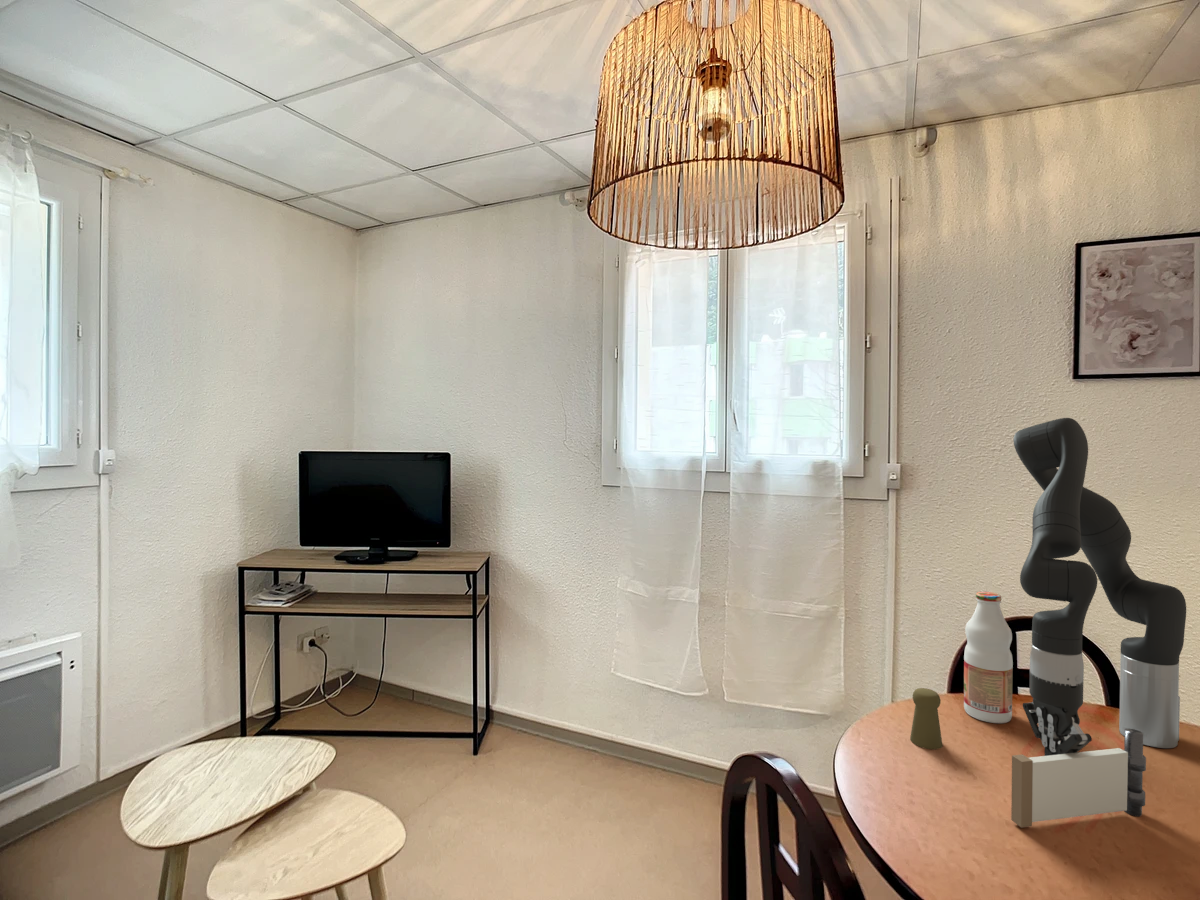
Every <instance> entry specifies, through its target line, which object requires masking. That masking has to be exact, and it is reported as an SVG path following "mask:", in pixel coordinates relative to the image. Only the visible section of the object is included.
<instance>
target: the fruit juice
mask: <svg viewBox="0 0 1200 900" xmlns="http://www.w3.org/2000/svg"><path fill="white" fill-rule="evenodd" d="M975 599H976V601H977V603H976V607H975V609H974V612H973V614H972V616H971V617H970V619H969V620H968V621H967V622H966V624H965V627H964V628H965V629H964V632H965V636H966V637H965V638H966V641H967V642H966V645H965V647H964V655H963V660H964V661H963V708H964V711H965V713H967V714H968V716H970V717H972V718H974V719H977V720H979V721H982V722H986V723H993V724H1006V723H1009V722H1010V721H1011V720H1012V717H1013V668H1014V667H1013V665H1014V662H1013V654H1012V651H1011V650H1010V647H1011V644H1012V641H1013V633H1012V628H1010V627H1009V624H1008V623H1007V621H1006V619H1005V617H1004V615H1003V611H1002V608H1001V603H1002V596H1001V594H999V593H996V592H991V591H978V592H976V594H975Z"/></svg>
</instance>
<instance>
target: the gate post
mask: <svg viewBox="0 0 1200 900" xmlns="http://www.w3.org/2000/svg"><path fill="white" fill-rule="evenodd" d="M1123 750H1124V751H1126V752H1128V779H1127V810H1126V811H1124V812H1125V814H1127V815H1129V816H1131V817H1132V816H1133V817H1138V818H1140V817H1142V816H1143V807H1144V806H1146V791H1145V790H1144V789H1143V772H1146V771H1147V768H1146V767H1147V757H1146V756H1145V754H1144V744H1143V733H1142V732H1140V731H1138V730H1135V729H1125V736H1124V748H1123Z"/></svg>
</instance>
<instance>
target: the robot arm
mask: <svg viewBox="0 0 1200 900" xmlns="http://www.w3.org/2000/svg"><path fill="white" fill-rule="evenodd" d="M1013 446H1014V449H1015V452H1016V455H1017V456H1018V458H1019V460H1020V461H1021V463H1022V464H1023V466H1024V467H1025V469H1026V470H1027V471H1028V472H1029V474H1030V475H1031V476H1032V477H1033V479H1034V480H1035V482H1036V483H1037V484H1038V485H1039V486H1040V488H1041V489H1042V490H1043V492H1042V493H1041V495H1040V496H1039V498H1038V500H1037V501H1036V503H1035V505H1034V509H1033V512H1032V539H1031V545H1030V546H1031V547H1030V549H1029V552H1028V554H1027V557H1026V558H1025V561H1024V563H1023V565H1022V568H1021V571H1020V575H1019V582H1020V586H1021V588H1022V589H1023V591H1024V592H1025V593H1026V594H1027V596H1028V595H1029V596H1030V597H1031V598H1036V599H1042V600H1051V601H1060V602H1067V603H1068V604H1067V605H1066V606H1065V607H1064V608H1061V609H1054V610H1053V609H1052V610H1041V611H1037V612H1035V613H1034V614H1033V616H1032V622H1031V623H1032V624H1031V625H1032V626H1031V648H1030V649H1031V650H1030V655H1029V695H1030V696H1031V697H1032V702H1023V703H1022V707H1023V710H1024V714H1025V715H1026V717H1027V719H1028V722H1029V725H1030V727H1031V729H1032V732H1033V734H1034V736H1035V737H1036V738H1037V739H1040V741H1041V743H1042V746H1043V747H1044V755H1043V756H1049V755H1058V754H1068V753H1077V752H1081V750H1082V749H1084V748H1085V747H1086V746H1087V745H1089V743H1090V742H1092V740H1093V738H1092V736H1091V735H1090V733H1084V731H1083V730H1082V729H1081V726H1080V723H1081V720H1080V717H1079V712H1078V711H1079V709H1080V708H1081V707H1082V706H1083V704H1084V679H1085V677H1084V675H1085V674H1084V673H1085V672H1084V671H1085V670H1084V669H1085V668H1084V665H1085V664H1084V659H1083V635H1084V634H1083V633H1084V632H1083V630H1084V624H1085V619H1086V616H1087V612H1088V610H1089V607H1090V606H1091V603H1092V601H1093V599H1094V596H1095V593H1096V591H1097V587H1098V580H1099V582H1100V584H1101V586H1102V590H1103V591H1104V593H1105V595H1106V598H1107V600H1108V602H1109V603H1110V606H1111V607H1112V609H1113V610H1114V612H1116V614H1117V615H1118V616H1120V617H1121V618H1123V619H1125V620H1127V621H1130V622H1134V623H1137V624H1140V625H1145V633H1144V636H1132V637H1131V636H1130V637H1125V638H1122V639H1121V642H1120V658H1119V661H1120V662H1119V663H1120V664H1119V665H1120V669H1119V670H1120V671H1119V672H1120V673H1119V675H1120V676H1119V677H1120V678H1119V679H1120V680H1119V717H1118V718H1119V720H1118V721H1119V725H1118V726H1119V727H1118V728H1119V733H1120V734H1121V735H1122V736H1123V737H1125V729H1135V730H1138V731H1140V732H1142V733H1143V746H1144V745H1145V746H1148V747H1149V746H1150V747H1152V748H1159V749H1173V748H1176V747H1177V746H1178V741H1180V714H1181V713H1180V711H1181V709H1180V707H1181V705H1180V704H1181V702H1180V701H1181V698H1180V695H1179V693H1180V691H1179V685H1180V684H1179V682H1180V681H1179V680H1180V677H1179V676H1180V656H1181V654H1182V650H1183V647H1184V643H1185V632H1186V631H1185V629H1186V621H1187V619H1186V618H1187V602H1186V599H1185V596H1184V593H1183V592H1181V590H1180V589H1178V588H1177V587H1175V586H1172V585H1169V584H1165V583H1160V582H1154V581H1151V580H1147V579H1142V578H1141V577H1138V576H1137V575H1136V574H1135V573H1134V571H1133V570H1132V568H1131V567H1130V565H1129V563H1128V561H1127V558H1126V557H1127V555H1128V552H1129V550H1130V546H1131V544H1132V543H1131V541H1132V533H1131V530H1130V528H1129V525H1128V524H1127V522H1126V521H1125V518H1123V516H1122V513H1120V511H1119V509H1118V508H1117V506H1116V505H1115V504H1114V503H1113V502H1111V500H1109V499H1107V498H1106V497H1104V496H1102V495H1100V494H1099V493H1097V492H1095V491H1093V490H1091V489H1090V488H1087V487H1085V486H1084V484H1085V483H1084V482H1085V478H1086V471H1087V465H1088V459H1089V443H1088V439H1087V435H1086V433H1085V431H1084V429H1083V428H1082V426H1081V425H1080V423H1078V421H1076V419H1074V418H1073V417H1061V418H1056V419H1053V420H1049V421H1046V422H1045V421H1044V422H1043V423H1038V424H1034V425H1032V426H1028V427H1025V428H1022V429H1020V430H1018V431H1016V432H1015V433H1014V436H1013ZM1080 550H1081V551H1082V552H1083V554H1084V556H1085V558H1086V559H1087V561H1088V562H1089V563H1086V562H1084V561H1081V560H1080V561H1078V560H1069V559H1067V560H1066V559H1063V558H1069V557H1073V556H1074V555H1076V554H1077V553H1079V552H1080ZM1061 558H1062V559H1061Z"/></svg>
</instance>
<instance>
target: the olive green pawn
mask: <svg viewBox="0 0 1200 900" xmlns="http://www.w3.org/2000/svg"><path fill="white" fill-rule="evenodd" d="M912 700H913V703H914V711H913V712H914V713H913V718H912V725H911V732H910V739H909V740H910V742H911V743H912V744H913V745H915V746H916V747H917V746H918V747H919V748H922V749H927V750H940V749H942V747H943V739H942V733H941V732H942V731H941V726H940V725H941V724H940V719H939V718H940V717H939V716H940V715H939V712H938V711H939V710H938V709H939V707H941V706H940V705H941V697H940V694H938V692H936V691H935V690H933V689H930V688H928V687H927V688H926V687H919V688H916V689H914V691H913V692H912Z"/></svg>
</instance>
